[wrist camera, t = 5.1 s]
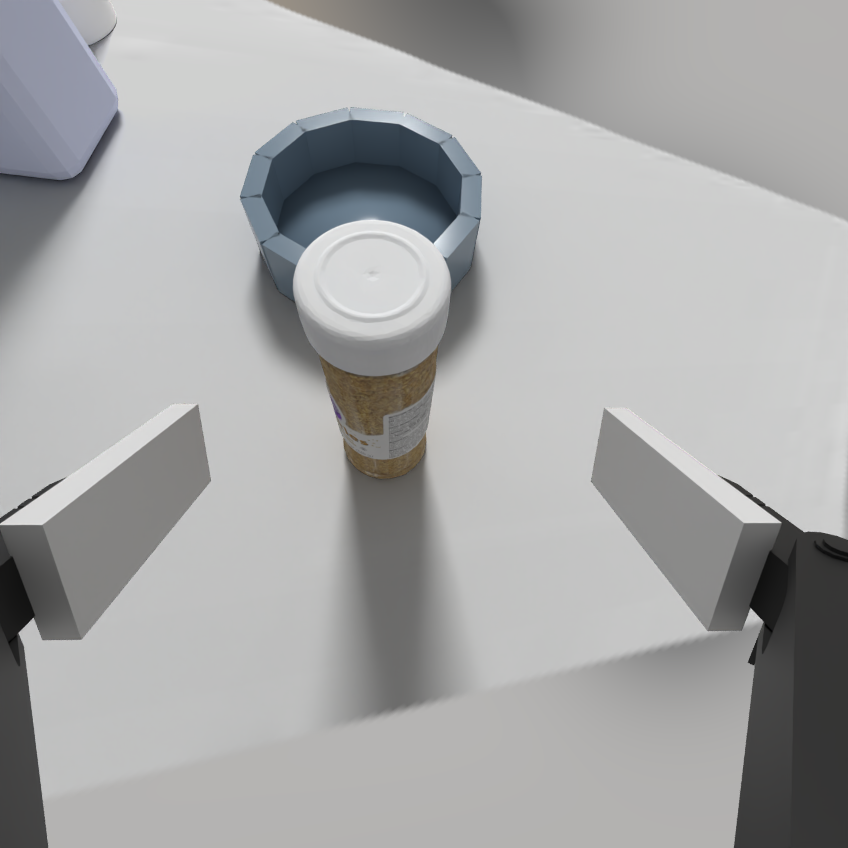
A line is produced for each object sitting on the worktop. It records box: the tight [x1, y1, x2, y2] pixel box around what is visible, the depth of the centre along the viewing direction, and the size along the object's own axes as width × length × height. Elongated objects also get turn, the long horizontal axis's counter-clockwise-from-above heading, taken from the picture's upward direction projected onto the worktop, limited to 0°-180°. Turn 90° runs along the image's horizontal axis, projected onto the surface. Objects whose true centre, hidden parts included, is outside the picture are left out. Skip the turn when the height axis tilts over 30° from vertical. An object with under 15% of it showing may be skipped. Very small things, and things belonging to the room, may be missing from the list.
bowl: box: [240, 107, 482, 301], centre depth 29 cm, size 14×14×4 cm
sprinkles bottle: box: [293, 220, 451, 479], centre depth 19 cm, size 5×5×14 cm
